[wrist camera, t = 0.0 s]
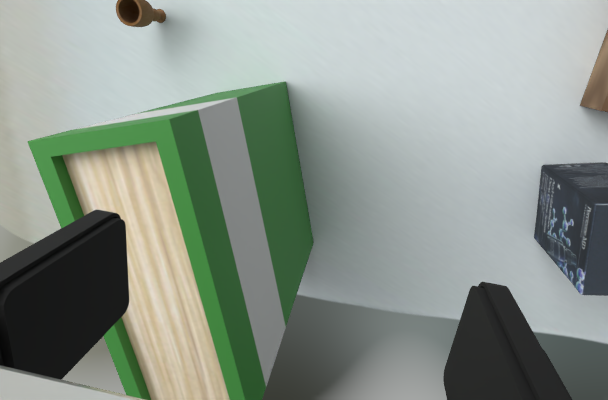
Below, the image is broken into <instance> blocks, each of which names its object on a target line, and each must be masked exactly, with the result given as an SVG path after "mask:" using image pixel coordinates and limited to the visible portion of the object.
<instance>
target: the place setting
mask: <svg viewBox="0 0 608 400" xmlns="http://www.w3.org/2000/svg"><path fill="white" fill-rule="evenodd" d="M116 13H117V16H118V18H119V19H120V21H121V22H122V23H124V24H125V25H128V26H133V27H144V26H147V25H149V24H150V23H151V22H152V21H157V22H159V23H162V22H164V21H165V19H166V14H165V12H164V11H163V10H161V9H157V10H156V9H153V8H152V6H151V5H150V4H149V3H148V2H147V1H146V0H118V1H117V4H116Z"/></svg>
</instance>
